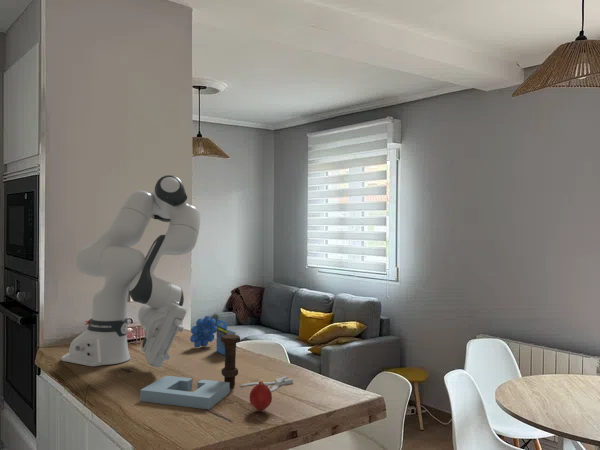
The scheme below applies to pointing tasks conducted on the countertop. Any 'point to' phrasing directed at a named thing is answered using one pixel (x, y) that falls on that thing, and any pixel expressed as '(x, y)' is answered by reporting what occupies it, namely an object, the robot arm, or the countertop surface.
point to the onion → (260, 396)
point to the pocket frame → (185, 392)
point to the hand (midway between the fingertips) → (173, 343)
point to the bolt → (230, 358)
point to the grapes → (203, 331)
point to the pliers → (276, 384)
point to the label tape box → (220, 332)
